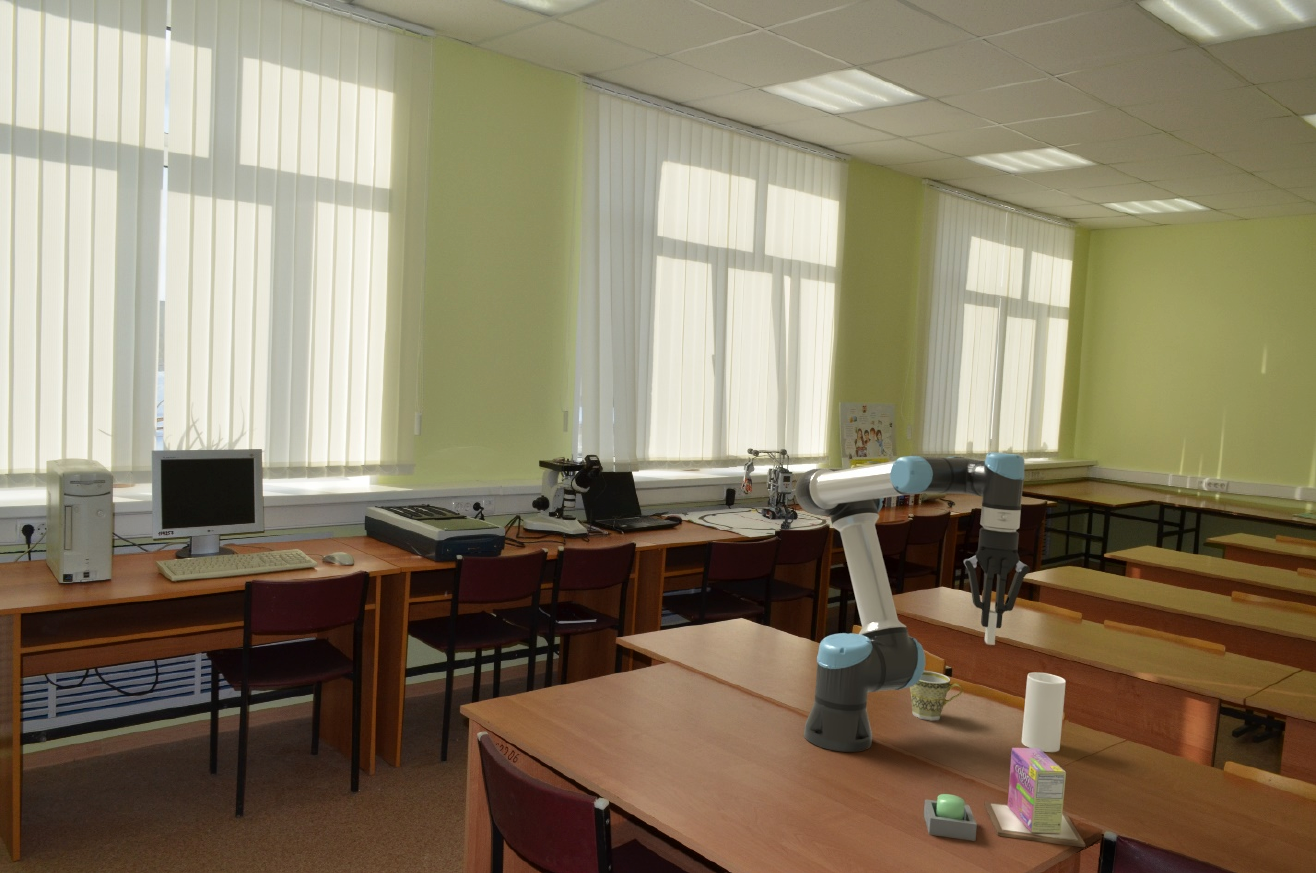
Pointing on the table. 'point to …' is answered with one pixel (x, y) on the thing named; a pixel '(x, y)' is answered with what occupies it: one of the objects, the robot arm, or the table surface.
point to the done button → (950, 807)
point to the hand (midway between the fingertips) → (989, 642)
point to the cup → (1043, 711)
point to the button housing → (949, 823)
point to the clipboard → (1013, 827)
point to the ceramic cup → (930, 695)
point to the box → (1036, 790)
